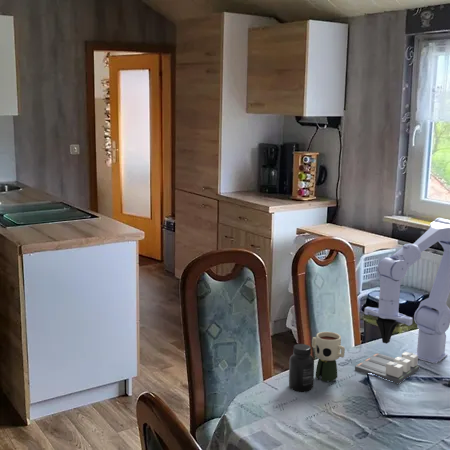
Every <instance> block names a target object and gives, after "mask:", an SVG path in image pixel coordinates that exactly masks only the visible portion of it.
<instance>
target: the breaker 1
mask: <svg viewBox="0 0 450 450" xmlns="http://www.w3.org/2000/svg"><path fill="white" fill-rule="evenodd" d="M385 374H388V375H391V376H394V377H397V378H399V377H400V376H402V374H403V365H401V364H398V363H396V362H395V363H394V362H391V361H390V362H388V363H387V364H386V373H385Z"/></svg>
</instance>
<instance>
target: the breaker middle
mask: <svg viewBox="0 0 450 450" xmlns="http://www.w3.org/2000/svg"><path fill="white" fill-rule="evenodd" d="M394 358H395V359H394V363H395V362H396V363H398V364H401V365H403V372H408V371H409V370H410V366H411V360H408V359H406V358H404V357H403V358H402V356H397V357H394Z"/></svg>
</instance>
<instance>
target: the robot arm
mask: <svg viewBox="0 0 450 450" xmlns="http://www.w3.org/2000/svg"><path fill="white" fill-rule="evenodd" d="M436 243H439V244H440V245H441V247H442V249H443V253H442V256H441V259H440V263H439V266H438V269H437V272H436V275H435V277H434V281H433V284H432V288H431V290H430V293H429V296H428V297H427V298H425V299H424V300H421V301H420V303H419V305H418V308H417V309H416V310H415V312H414V315H413V317H411V316H408V315H406V314H403V313H400V312H399V308H400V293H401V281H402V279H404V278H405V276H406V275H407V271H409V269H410V267H412V266H413V265H414V264H415V263H417V262H418V261H419V260H421V256H422V253H423V252H424V251H426V250H428V249H429V248H430V247H432V246H433V245H435V244H436ZM376 272H377V274H378V280H379V283H380V284H379V295H378V296H379V298H378V307H372V306H366V307H364V311H363V312H364V315H367V316H368V315H370V316H374V317H377V319H376V320H375V323H376V325H377V326H378V329H379V332H380V335H381V341H382V342H381V343H383V344H387V345H388V344H389V343H390V341H391V339H392V338H391V337H392V336H393V333H394V331H395V329H396V327H397V326H398V324H400V323H401V324H405V325H406V326H409V327H410V326H411V325H413V320H414V322H415V324H416V326H417V327H416V329H417V328H418V334H417V335H418V336H417V348H416V352H414V353H413V354H415V355H418V360H422V361H425V362H428V363H432V364H438V363H439V362H440V361H441V360H443V359H445V357H446V358H447V356H448V353H447V352H446V342H447V341H446V340H447V334H446V332H447V330H449V327H450V307H449V306H448V304H447V302H448V299H449V297H450V296H449V295H450V219H446V218H443V217H437V218H435V219H434V220H433V221H432V222H430V223H429V228H428V229H427V230H426V231H424V233H423V234H422V235H420V237H419V238H417V240H415V242H413V243H405V244H404V245H402V246H401V248H400V249H398V250H397V251H396V252H394V253H393V254H392V255H391V256H389V257H384V258H382V259H381V260H380V261H379V262H378V265H377V266H376Z"/></svg>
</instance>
